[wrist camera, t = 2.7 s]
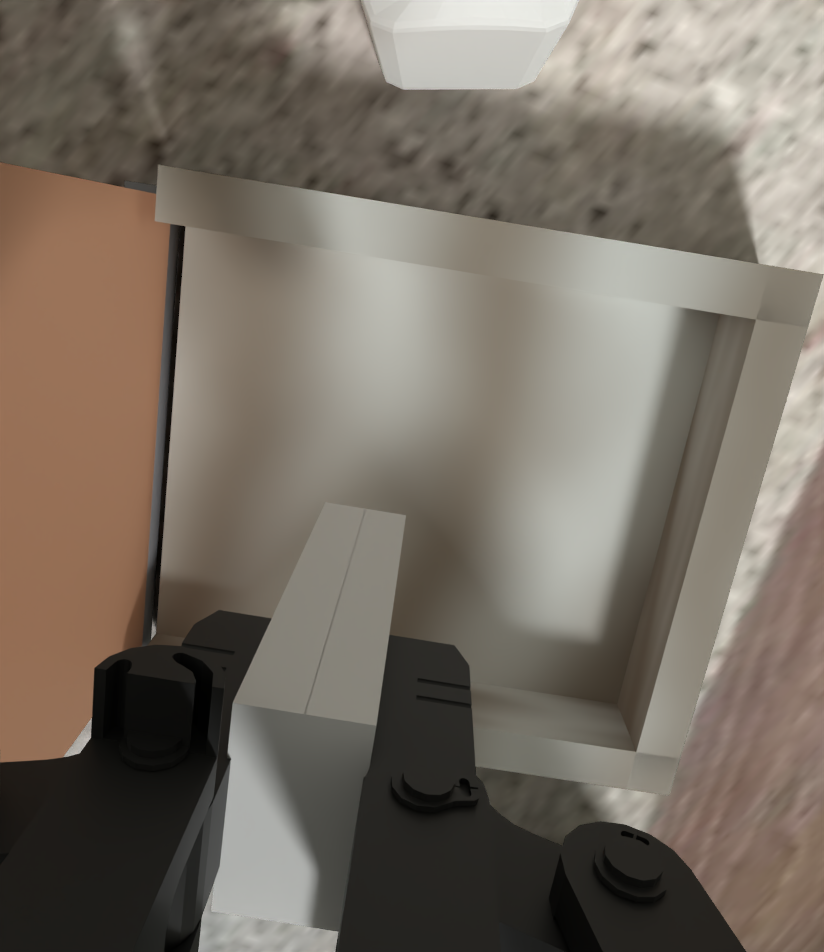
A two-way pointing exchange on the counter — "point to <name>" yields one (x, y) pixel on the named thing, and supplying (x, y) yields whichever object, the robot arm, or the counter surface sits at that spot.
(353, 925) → the robot arm
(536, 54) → the pepper shaker
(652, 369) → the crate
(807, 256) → the counter surface
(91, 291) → the panel
